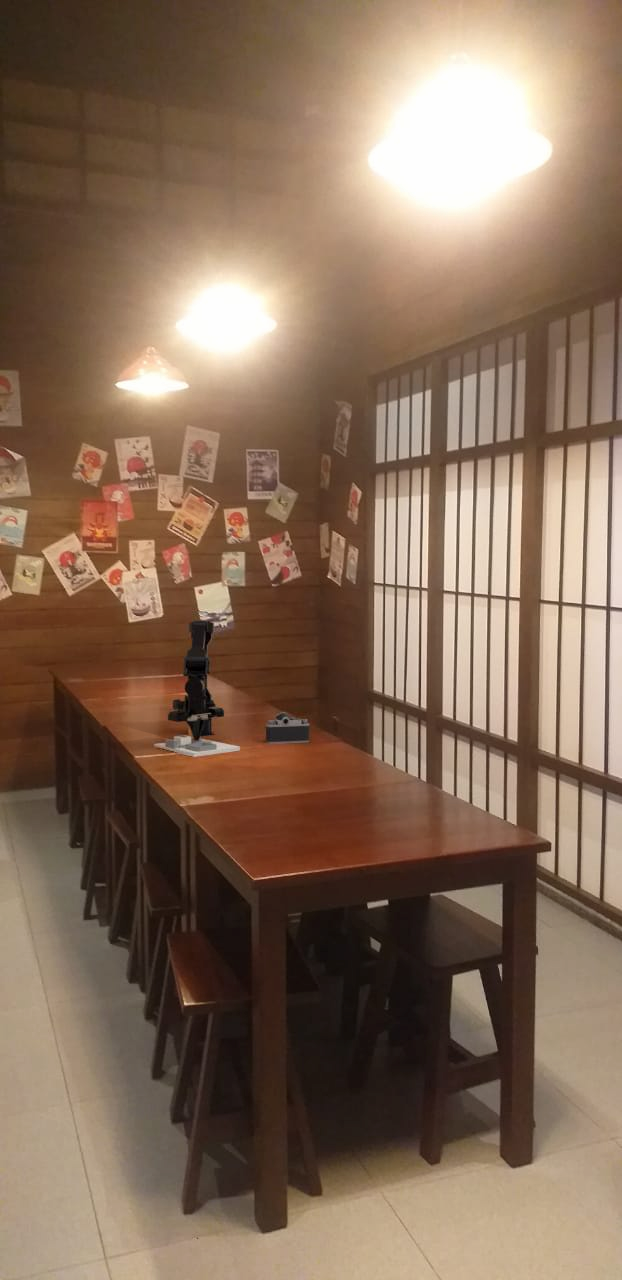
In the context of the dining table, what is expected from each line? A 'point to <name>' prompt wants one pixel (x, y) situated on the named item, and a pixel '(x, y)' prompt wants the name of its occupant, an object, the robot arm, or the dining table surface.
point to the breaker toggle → (182, 739)
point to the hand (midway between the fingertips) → (196, 740)
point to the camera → (287, 730)
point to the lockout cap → (192, 734)
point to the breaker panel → (198, 747)
